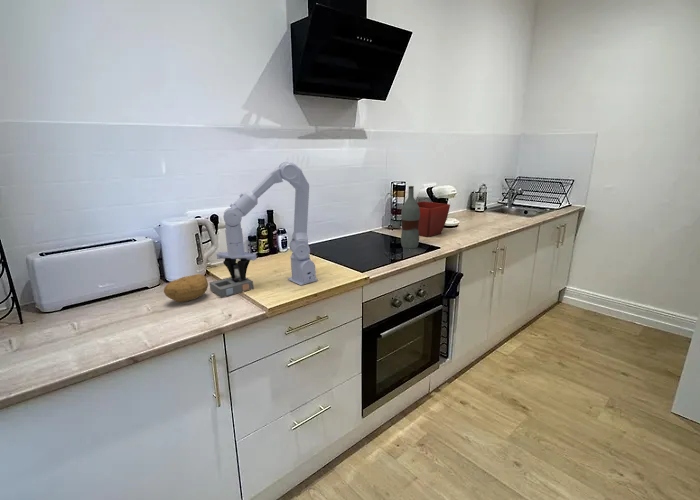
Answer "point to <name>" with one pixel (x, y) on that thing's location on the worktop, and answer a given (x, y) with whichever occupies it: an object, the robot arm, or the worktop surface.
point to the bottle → (410, 221)
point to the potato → (186, 288)
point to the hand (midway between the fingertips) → (238, 278)
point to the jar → (237, 273)
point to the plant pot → (432, 218)
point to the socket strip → (230, 286)
